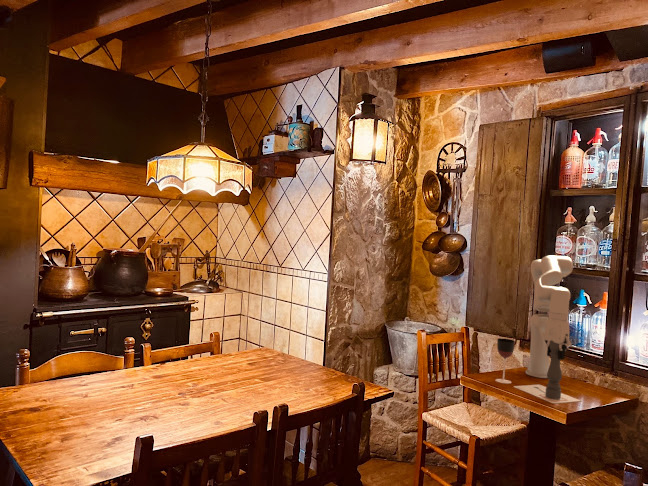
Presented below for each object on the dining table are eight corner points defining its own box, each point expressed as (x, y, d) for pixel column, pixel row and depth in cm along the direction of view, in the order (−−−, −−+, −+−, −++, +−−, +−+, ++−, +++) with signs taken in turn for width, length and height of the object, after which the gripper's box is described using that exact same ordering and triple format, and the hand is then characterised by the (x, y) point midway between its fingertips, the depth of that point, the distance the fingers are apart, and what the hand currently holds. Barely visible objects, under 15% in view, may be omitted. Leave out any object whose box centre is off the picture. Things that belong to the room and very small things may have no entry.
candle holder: (562, 399, 222) (566, 342, 221) (547, 397, 223) (550, 340, 223) (558, 395, 228) (562, 339, 227) (543, 393, 229) (547, 338, 229)
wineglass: (495, 382, 246) (497, 341, 246) (494, 377, 254) (497, 337, 254) (512, 384, 244) (515, 343, 243) (511, 380, 252) (514, 339, 252)
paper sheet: (513, 386, 240) (513, 386, 240) (539, 385, 246) (539, 384, 246) (553, 403, 218) (553, 402, 218) (581, 401, 223) (581, 400, 223)
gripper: (537, 313, 231) (534, 353, 232) (567, 320, 215) (564, 363, 216) (549, 313, 234) (547, 352, 235) (581, 320, 218) (578, 362, 219)
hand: (555, 357), depth 225 cm, fingers closed on candle holder, 5 cm apart
